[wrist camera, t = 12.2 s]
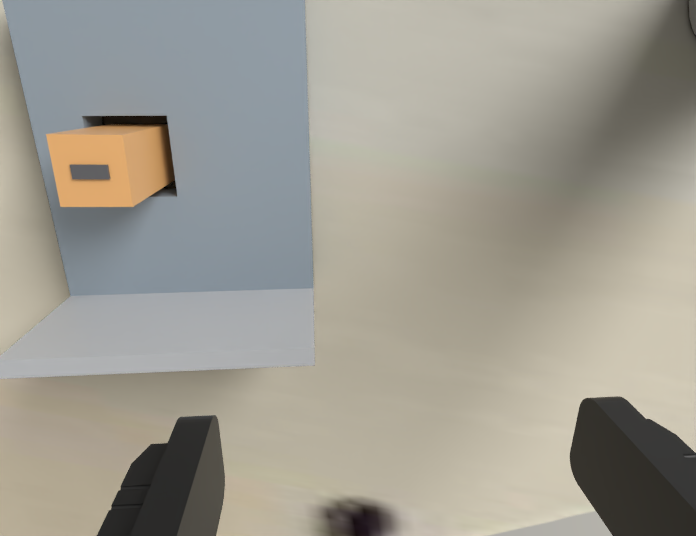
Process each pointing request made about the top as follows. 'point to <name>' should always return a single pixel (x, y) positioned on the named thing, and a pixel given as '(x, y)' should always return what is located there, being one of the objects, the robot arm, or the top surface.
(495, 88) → the top surface
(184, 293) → the grey slotted stand
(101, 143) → the block
